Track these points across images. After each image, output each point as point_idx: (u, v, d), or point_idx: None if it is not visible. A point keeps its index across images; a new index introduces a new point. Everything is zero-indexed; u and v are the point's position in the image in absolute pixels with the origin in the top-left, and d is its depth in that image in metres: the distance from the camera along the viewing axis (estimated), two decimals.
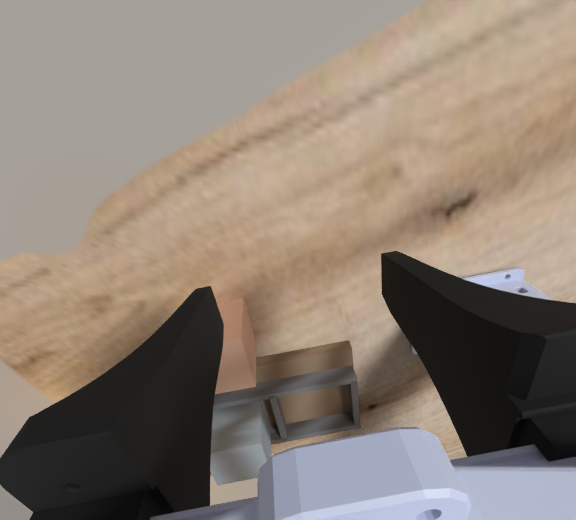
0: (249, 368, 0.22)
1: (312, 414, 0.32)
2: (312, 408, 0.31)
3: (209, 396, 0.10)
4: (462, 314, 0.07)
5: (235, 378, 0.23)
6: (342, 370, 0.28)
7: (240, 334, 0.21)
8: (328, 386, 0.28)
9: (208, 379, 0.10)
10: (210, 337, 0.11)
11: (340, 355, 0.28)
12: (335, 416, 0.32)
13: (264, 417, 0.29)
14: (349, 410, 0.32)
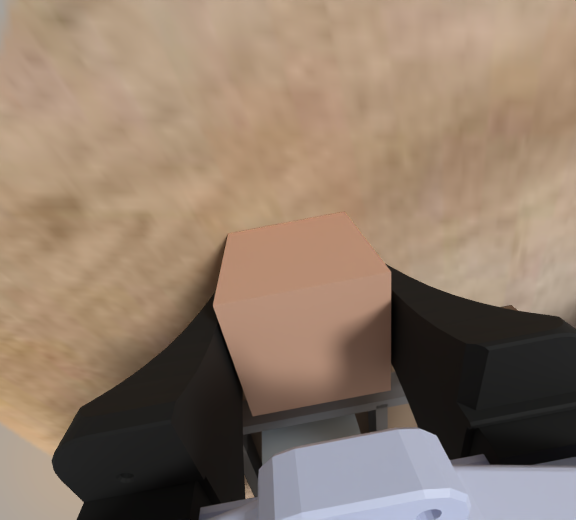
0: (388, 349, 0.10)
1: None
2: None
3: (239, 390, 0.10)
4: (420, 322, 0.07)
5: (352, 372, 0.10)
6: None
7: (382, 264, 0.09)
8: None
9: None
10: None
11: None
12: None
13: None
14: None
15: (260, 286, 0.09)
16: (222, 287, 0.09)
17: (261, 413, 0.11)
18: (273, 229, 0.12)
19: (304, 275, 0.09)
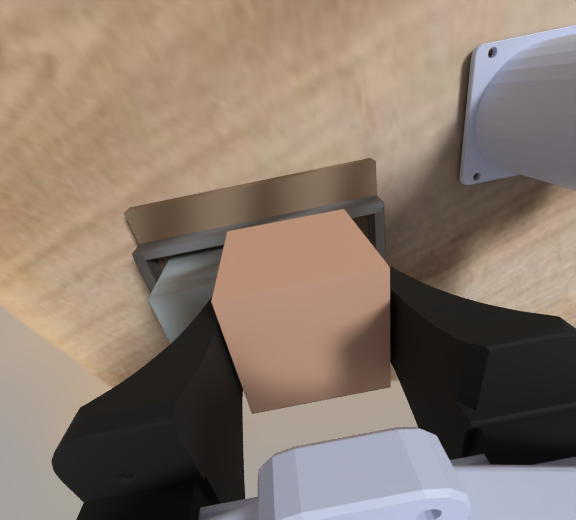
0: (388, 345, 0.10)
1: None
2: None
3: (239, 390, 0.10)
4: (421, 322, 0.07)
5: (352, 369, 0.10)
6: (361, 200, 0.19)
7: (381, 259, 0.09)
8: None
9: None
10: None
11: (358, 174, 0.19)
12: None
13: None
14: None
15: (259, 282, 0.09)
16: (221, 283, 0.09)
17: (260, 410, 0.11)
18: (272, 226, 0.12)
19: (302, 271, 0.09)
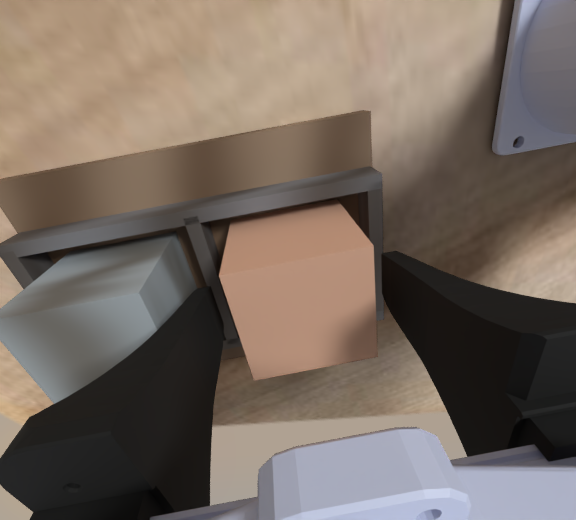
0: (374, 317, 0.11)
1: None
2: None
3: (209, 396, 0.10)
4: (462, 314, 0.07)
5: (343, 339, 0.11)
6: (349, 172, 0.13)
7: (367, 240, 0.10)
8: (318, 196, 0.12)
9: (208, 379, 0.10)
10: (210, 337, 0.11)
11: (345, 133, 0.13)
12: None
13: (183, 282, 0.14)
14: None
15: (260, 260, 0.10)
16: (226, 262, 0.10)
17: (262, 377, 0.12)
18: (272, 215, 0.13)
19: (298, 250, 0.10)
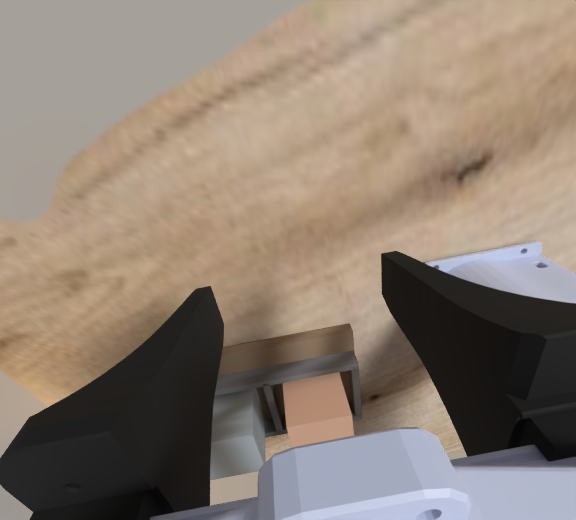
0: None
1: None
2: None
3: (209, 396, 0.10)
4: (462, 314, 0.07)
5: None
6: (342, 356, 0.26)
7: (349, 409, 0.23)
8: (327, 373, 0.25)
9: (208, 379, 0.10)
10: (210, 337, 0.11)
11: (340, 339, 0.26)
12: None
13: (257, 407, 0.27)
14: (350, 400, 0.30)
15: (303, 418, 0.23)
16: (287, 416, 0.23)
17: None
18: None
19: (319, 413, 0.23)
